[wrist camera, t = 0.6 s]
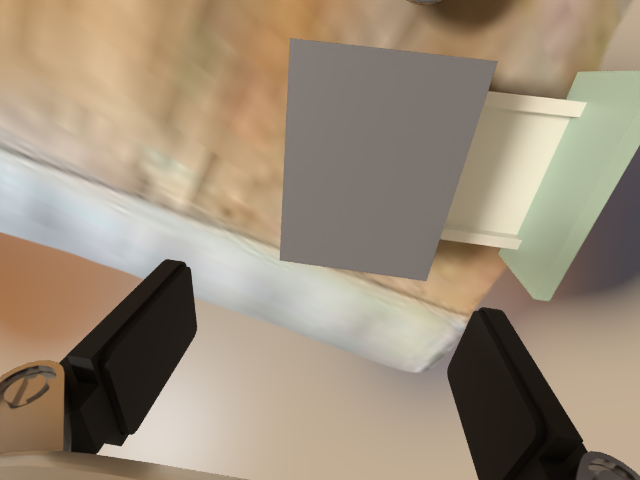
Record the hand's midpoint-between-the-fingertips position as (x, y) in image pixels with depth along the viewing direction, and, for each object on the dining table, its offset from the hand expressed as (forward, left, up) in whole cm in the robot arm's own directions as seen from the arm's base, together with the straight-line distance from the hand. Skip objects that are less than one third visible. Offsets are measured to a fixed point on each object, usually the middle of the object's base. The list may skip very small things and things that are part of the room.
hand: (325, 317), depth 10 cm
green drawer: (0, +14, -26) cm, 29 cm away
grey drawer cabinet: (0, +2, -26) cm, 26 cm away
